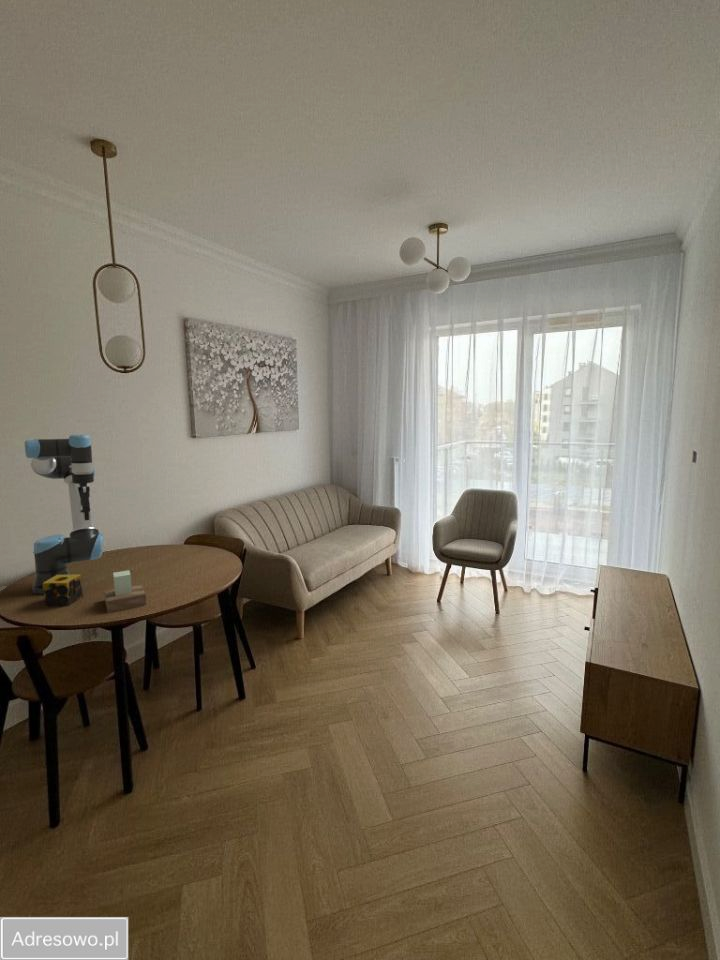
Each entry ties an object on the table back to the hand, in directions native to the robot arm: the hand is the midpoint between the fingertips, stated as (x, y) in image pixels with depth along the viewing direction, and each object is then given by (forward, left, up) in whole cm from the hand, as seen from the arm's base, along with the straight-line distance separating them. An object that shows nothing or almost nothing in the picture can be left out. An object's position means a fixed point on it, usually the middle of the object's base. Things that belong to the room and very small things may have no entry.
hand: (86, 524), depth 189 cm
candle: (-5, -10, -33) cm, 35 cm away
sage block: (+10, +11, -28) cm, 32 cm away
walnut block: (+10, +11, -33) cm, 36 cm away
